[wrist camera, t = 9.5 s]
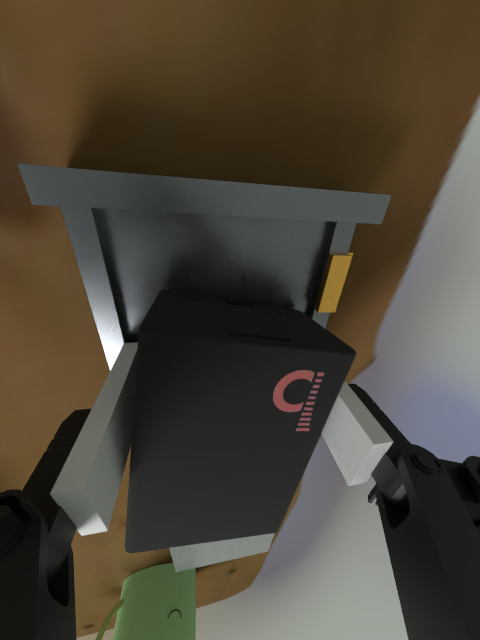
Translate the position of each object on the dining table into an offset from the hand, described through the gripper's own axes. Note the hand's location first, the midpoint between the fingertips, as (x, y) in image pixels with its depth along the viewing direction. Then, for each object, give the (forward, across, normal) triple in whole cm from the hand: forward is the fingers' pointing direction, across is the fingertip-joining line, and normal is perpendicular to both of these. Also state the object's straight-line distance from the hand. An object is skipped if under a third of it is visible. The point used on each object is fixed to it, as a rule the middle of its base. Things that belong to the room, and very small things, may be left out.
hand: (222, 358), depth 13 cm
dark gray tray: (+1, 0, -4) cm, 5 cm away
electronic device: (0, 0, -2) cm, 2 cm away
